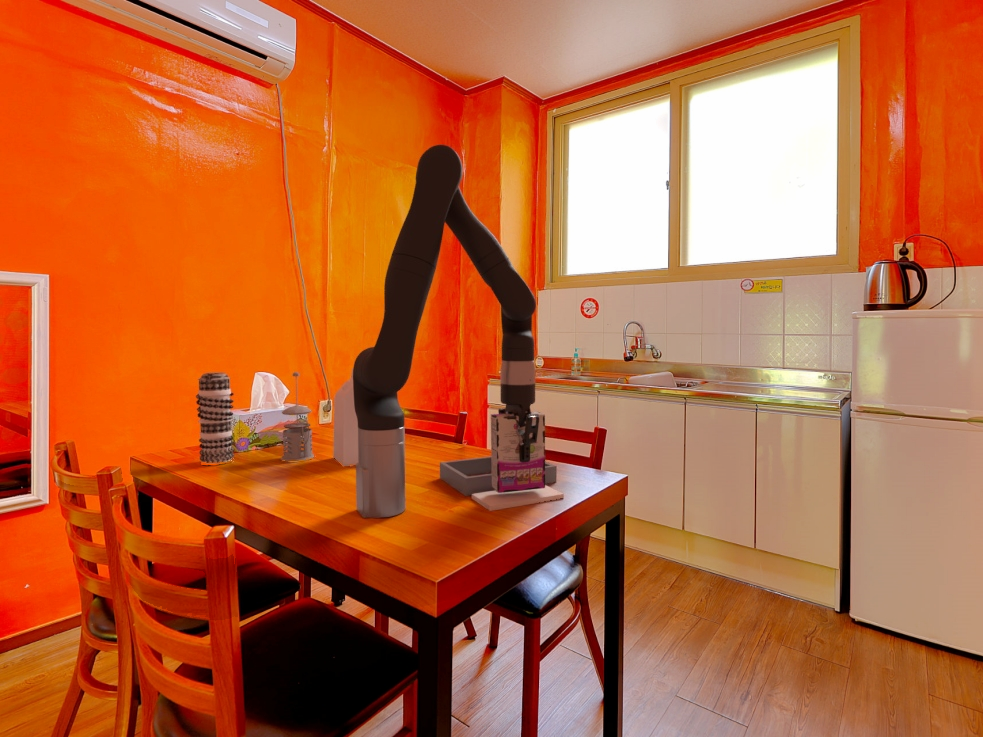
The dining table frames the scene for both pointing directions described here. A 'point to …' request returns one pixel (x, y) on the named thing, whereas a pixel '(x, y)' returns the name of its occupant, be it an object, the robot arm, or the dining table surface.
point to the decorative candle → (215, 418)
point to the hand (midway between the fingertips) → (517, 458)
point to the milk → (345, 425)
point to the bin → (461, 469)
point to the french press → (297, 434)
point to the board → (515, 498)
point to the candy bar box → (516, 455)
